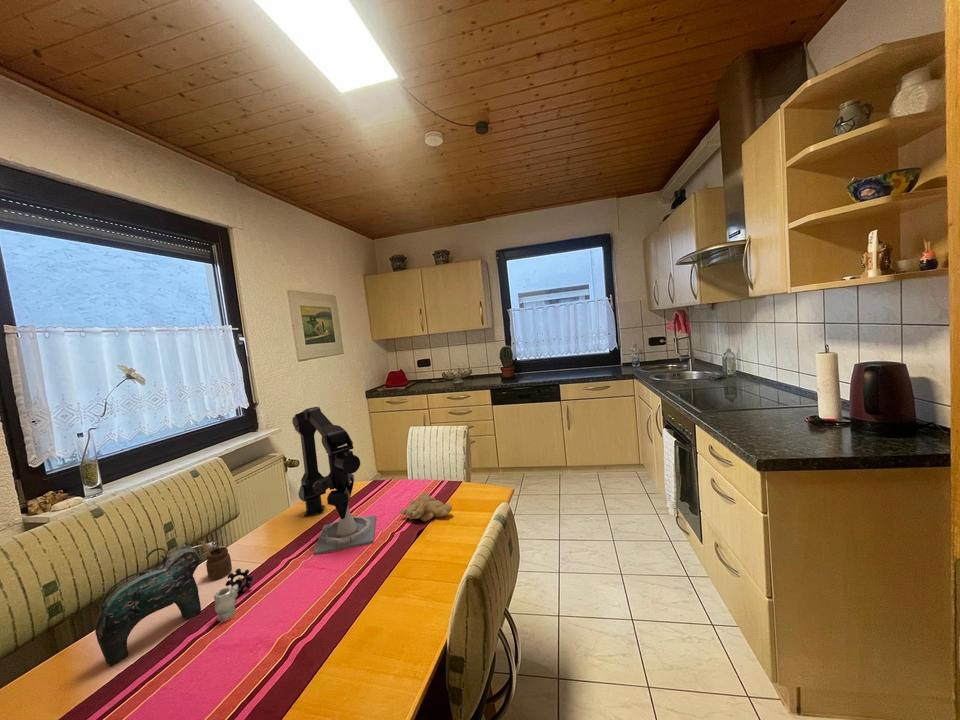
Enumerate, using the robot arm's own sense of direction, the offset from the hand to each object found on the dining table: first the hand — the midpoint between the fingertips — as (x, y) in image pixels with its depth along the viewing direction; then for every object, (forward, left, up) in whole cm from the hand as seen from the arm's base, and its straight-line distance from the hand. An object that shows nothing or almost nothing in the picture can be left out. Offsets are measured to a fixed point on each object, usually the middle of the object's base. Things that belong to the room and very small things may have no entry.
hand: (344, 512), depth 129 cm
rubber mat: (0, 0, -8) cm, 8 cm away
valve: (+26, -25, -8) cm, 37 cm away
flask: (0, 0, -7) cm, 7 cm away
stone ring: (0, 0, -8) cm, 8 cm away
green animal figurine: (+31, -39, -8) cm, 50 cm away
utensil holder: (+9, -35, -8) cm, 37 cm away
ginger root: (-3, +26, -8) cm, 28 cm away
